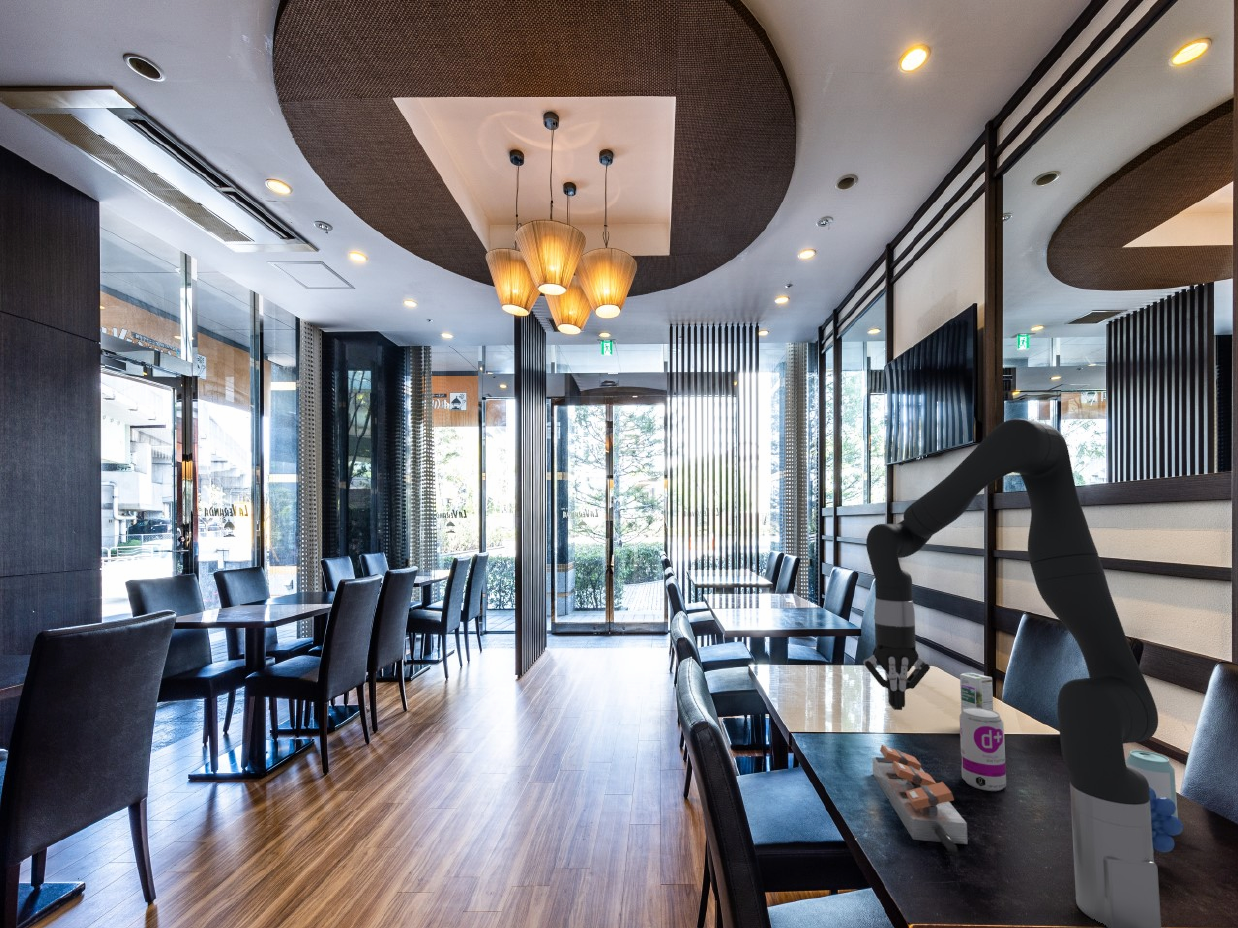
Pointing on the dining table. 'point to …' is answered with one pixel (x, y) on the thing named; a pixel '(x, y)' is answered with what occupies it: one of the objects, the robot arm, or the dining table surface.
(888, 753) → the rocker
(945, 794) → the block
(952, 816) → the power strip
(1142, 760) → the can
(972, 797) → the dining table surface
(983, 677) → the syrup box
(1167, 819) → the grapes
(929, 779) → the rocker
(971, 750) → the supplement can
